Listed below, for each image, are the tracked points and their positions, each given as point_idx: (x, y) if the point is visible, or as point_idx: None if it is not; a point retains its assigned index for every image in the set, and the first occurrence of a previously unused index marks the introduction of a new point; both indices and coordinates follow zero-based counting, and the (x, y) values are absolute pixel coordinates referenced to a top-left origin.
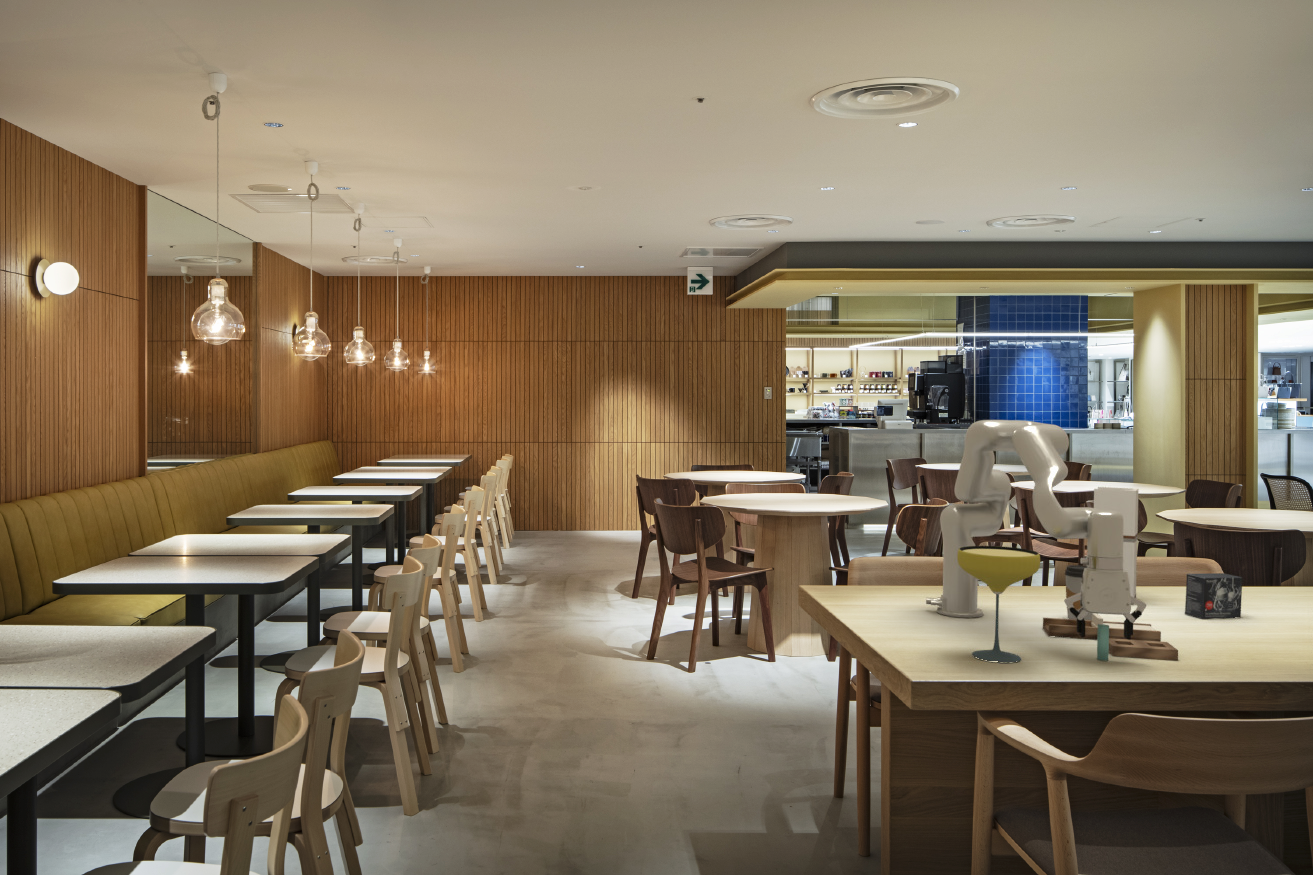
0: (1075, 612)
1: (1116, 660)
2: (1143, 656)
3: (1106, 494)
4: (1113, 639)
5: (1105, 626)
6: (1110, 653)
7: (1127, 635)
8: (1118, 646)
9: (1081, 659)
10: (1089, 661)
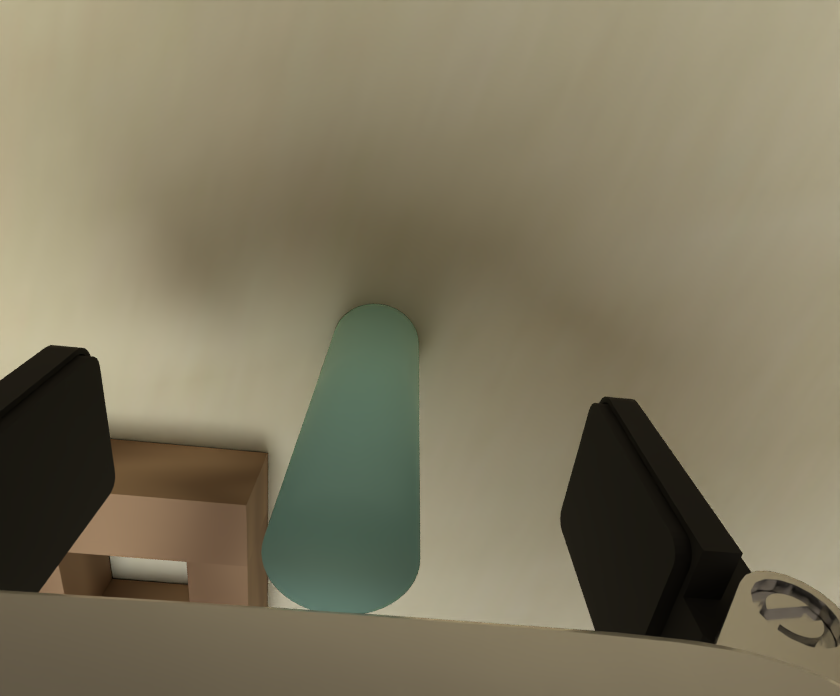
0: None
1: (271, 330)
2: None
3: None
4: None
5: (333, 495)
6: (266, 501)
7: (67, 372)
8: (198, 498)
9: (556, 313)
10: (514, 259)
